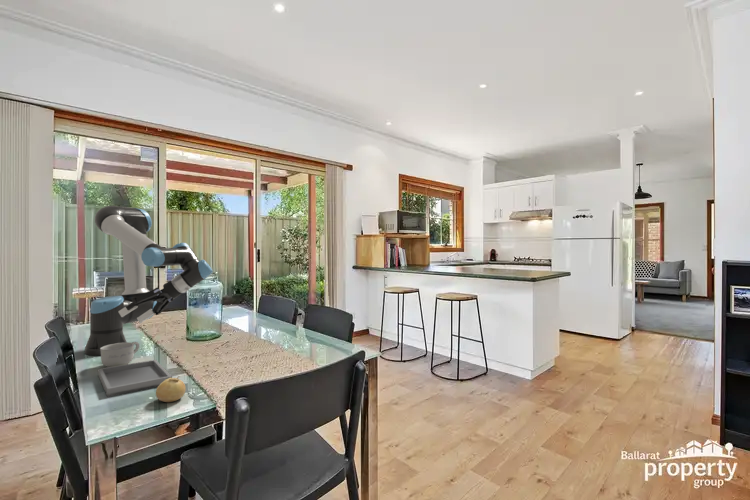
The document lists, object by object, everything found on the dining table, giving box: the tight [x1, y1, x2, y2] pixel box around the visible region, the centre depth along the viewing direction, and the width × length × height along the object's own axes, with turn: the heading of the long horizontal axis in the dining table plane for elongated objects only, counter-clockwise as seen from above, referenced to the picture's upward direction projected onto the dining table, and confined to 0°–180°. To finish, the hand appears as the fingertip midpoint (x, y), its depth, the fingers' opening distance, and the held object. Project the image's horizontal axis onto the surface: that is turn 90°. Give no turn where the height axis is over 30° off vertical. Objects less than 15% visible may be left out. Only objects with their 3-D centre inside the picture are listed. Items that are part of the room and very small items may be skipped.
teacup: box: [100, 341, 140, 368], centre depth 145 cm, size 14×11×8 cm
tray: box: [97, 359, 173, 398], centre depth 130 cm, size 24×18×2 cm
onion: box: [155, 376, 187, 403], centre depth 114 cm, size 8×8×7 cm
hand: (129, 317), depth 154 cm, fingers open, 13 cm apart
